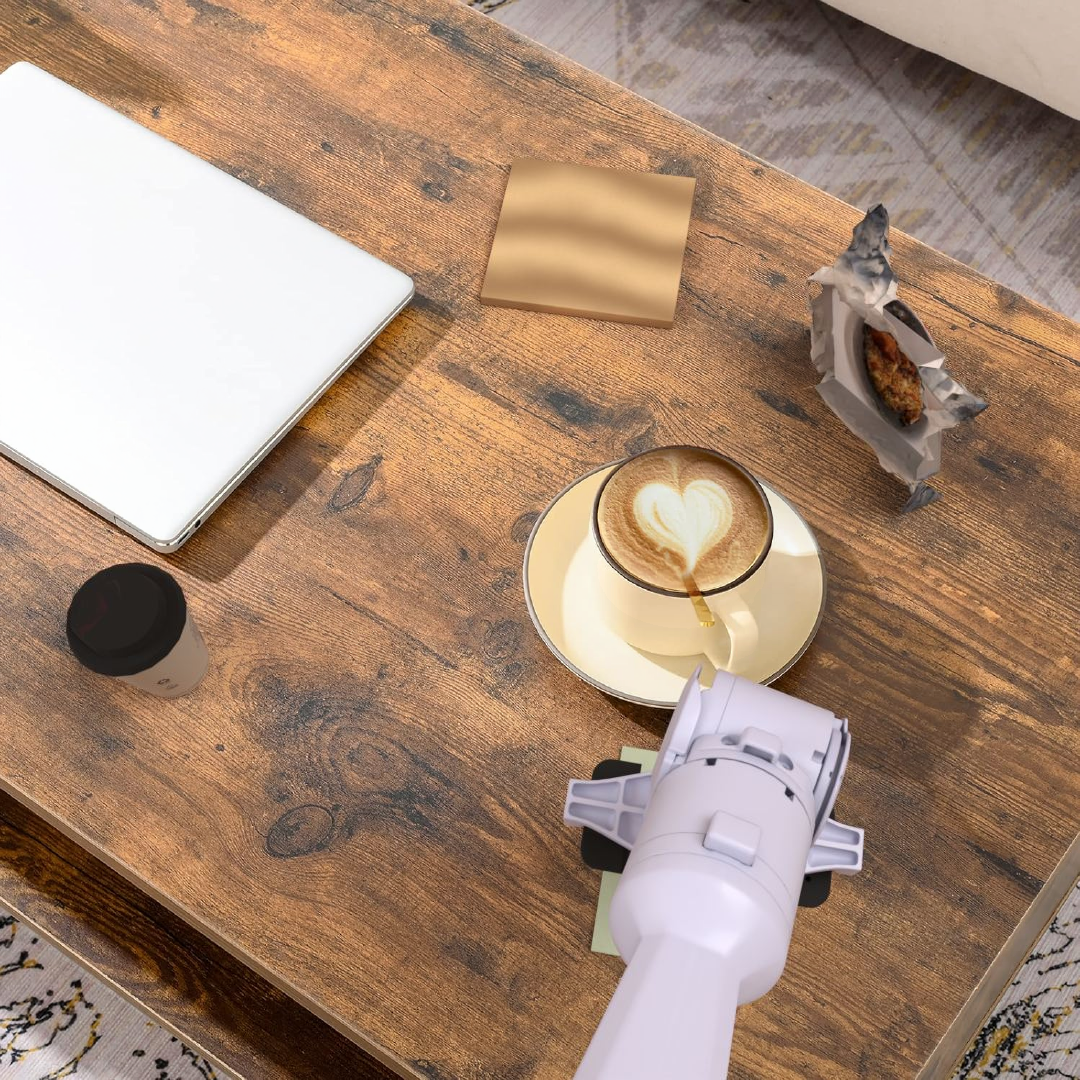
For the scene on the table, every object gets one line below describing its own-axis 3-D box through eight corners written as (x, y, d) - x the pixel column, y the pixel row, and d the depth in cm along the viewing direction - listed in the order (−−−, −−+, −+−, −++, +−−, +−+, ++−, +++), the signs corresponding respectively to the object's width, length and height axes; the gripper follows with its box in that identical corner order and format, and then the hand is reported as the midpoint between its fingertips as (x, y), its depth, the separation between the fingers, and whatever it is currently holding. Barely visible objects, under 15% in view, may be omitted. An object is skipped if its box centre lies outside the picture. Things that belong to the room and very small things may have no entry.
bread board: (672, 329, 83) (673, 321, 82) (481, 304, 84) (480, 296, 83) (695, 186, 88) (696, 177, 87) (514, 165, 89) (513, 156, 88)
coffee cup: (236, 614, 75) (189, 555, 66) (218, 719, 72) (165, 672, 63) (132, 609, 76) (70, 549, 66) (109, 713, 73) (41, 665, 64)
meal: (951, 494, 77) (1020, 392, 65) (895, 519, 76) (953, 420, 64) (837, 322, 83) (881, 199, 71) (784, 344, 82) (819, 224, 70)
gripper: (890, 747, 53) (832, 804, 66) (579, 695, 55) (580, 760, 67) (880, 904, 51) (821, 932, 63) (553, 845, 52) (559, 884, 64)
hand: (695, 852), depth 65 cm, fingers closed on toy figure, 7 cm apart
